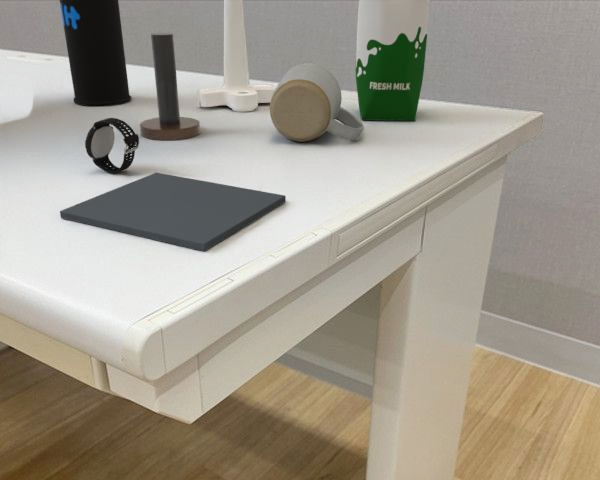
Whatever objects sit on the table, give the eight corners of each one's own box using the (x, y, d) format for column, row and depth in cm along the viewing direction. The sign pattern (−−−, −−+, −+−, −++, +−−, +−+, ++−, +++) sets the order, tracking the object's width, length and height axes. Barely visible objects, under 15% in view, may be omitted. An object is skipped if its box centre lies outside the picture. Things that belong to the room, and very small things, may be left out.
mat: (60, 218, 51) (59, 211, 50) (156, 178, 60) (156, 172, 60) (204, 251, 45) (203, 243, 45) (285, 202, 54) (285, 195, 54)
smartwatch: (120, 162, 65) (113, 112, 62) (147, 173, 61) (141, 121, 59) (82, 170, 62) (74, 118, 60) (108, 182, 59) (100, 128, 56)
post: (128, 135, 75) (116, 35, 69) (166, 124, 80) (157, 29, 75) (176, 143, 72) (167, 38, 67) (211, 130, 77) (206, 32, 72)
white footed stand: (269, 99, 94) (267, -54, 85) (285, 109, 88) (285, -56, 79) (195, 104, 91) (184, -55, 82) (207, 114, 85) (196, -57, 75)
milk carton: (414, 108, 89) (428, -54, 80) (423, 123, 81) (440, -56, 72) (351, 107, 90) (358, -55, 80) (354, 122, 82) (362, -57, 72)
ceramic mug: (266, 143, 72) (266, 71, 68) (279, 126, 79) (279, 61, 75) (360, 148, 70) (365, 76, 67) (364, 131, 78) (369, 65, 74)
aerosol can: (130, 94, 98) (113, -55, 88) (132, 104, 91) (114, -56, 81) (74, 96, 96) (51, -56, 86) (72, 107, 89) (46, -57, 79)
